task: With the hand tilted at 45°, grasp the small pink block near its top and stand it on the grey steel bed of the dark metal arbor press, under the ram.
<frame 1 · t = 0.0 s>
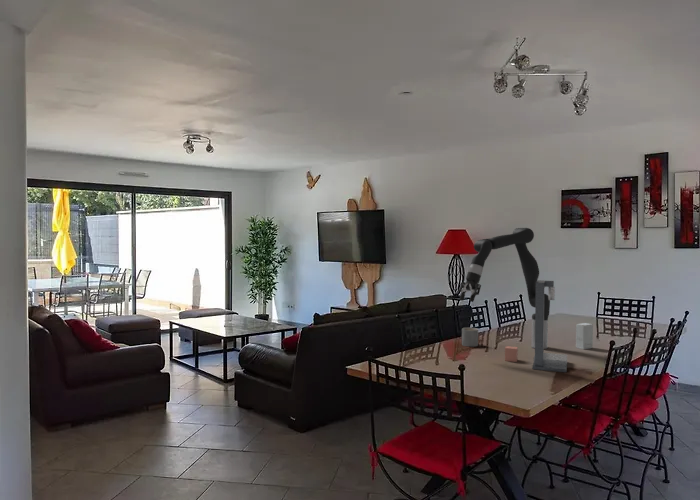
hand: (466, 300, 291), 31 cm above the table, tool tilted 20°, fingers open, 8 cm apart
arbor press: (550, 363, 276), on the table
pink block: (511, 360, 284), on the table
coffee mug: (470, 344, 326), on the table
skincare box: (584, 348, 317), on the table
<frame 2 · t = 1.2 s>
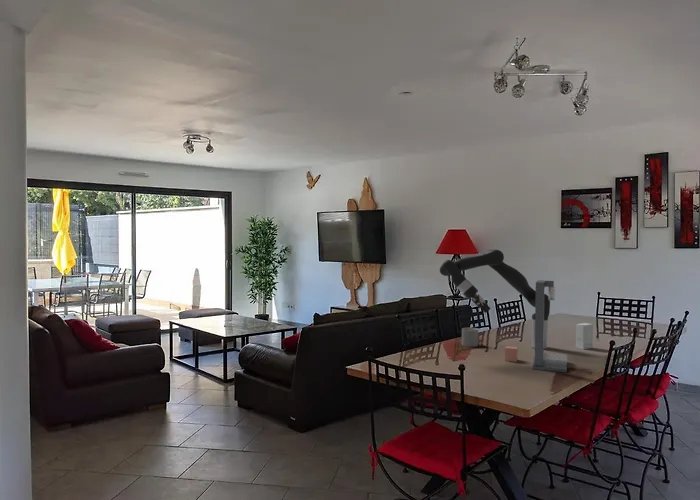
hand: (488, 310, 288), 26 cm above the table, tool tilted 45°, fingers open, 8 cm apart
nothing on the table moved.
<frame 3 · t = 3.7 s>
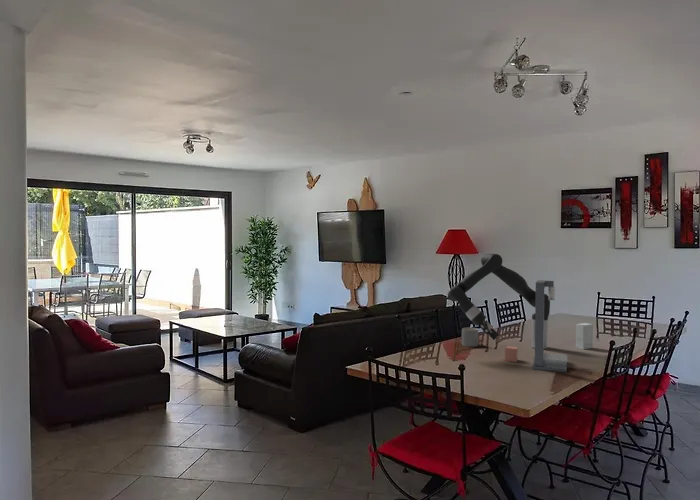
hand: (496, 337, 287), 12 cm above the table, tool tilted 45°, fingers open, 8 cm apart
nothing on the table moved.
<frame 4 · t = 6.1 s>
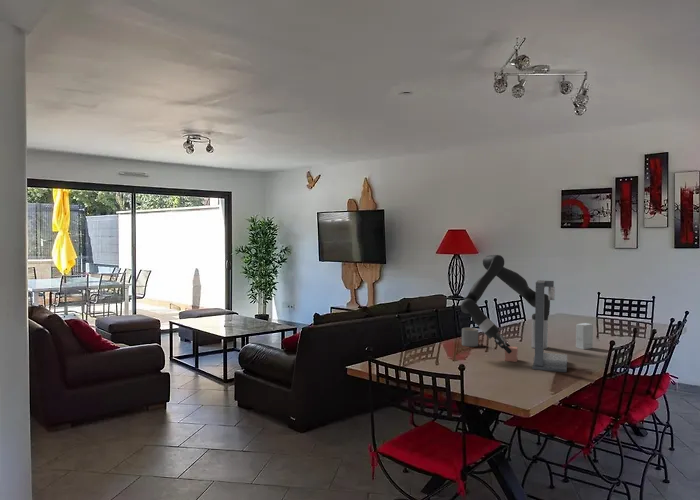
hand: (511, 351, 284), 5 cm above the table, tool tilted 45°, fingers closed on pink block, 5 cm apart
pink block: (511, 360, 284), on the table, touching gripper
everything else where it was.
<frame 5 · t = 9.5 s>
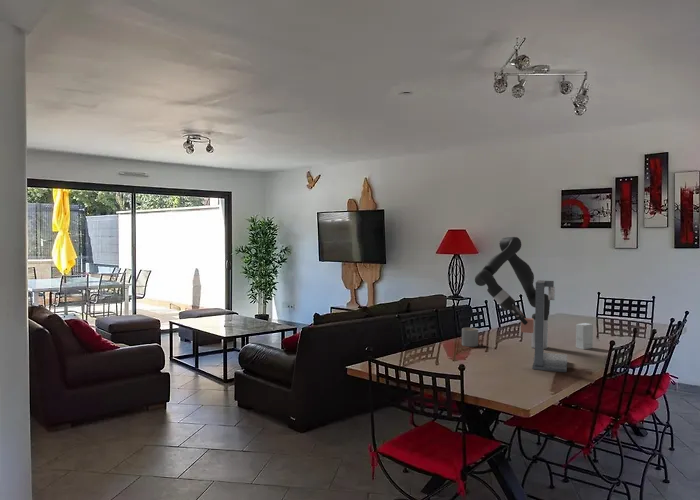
hand: (526, 322, 280), 21 cm above the table, tool tilted 45°, fingers closed on pink block, 5 cm apart
pink block: (527, 331, 280), point 16 cm above the table, touching gripper
everything else where it was.
when the fingers open (10 cm above the table, at t = 12.9 s): pink block drops 1 cm, resting on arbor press.
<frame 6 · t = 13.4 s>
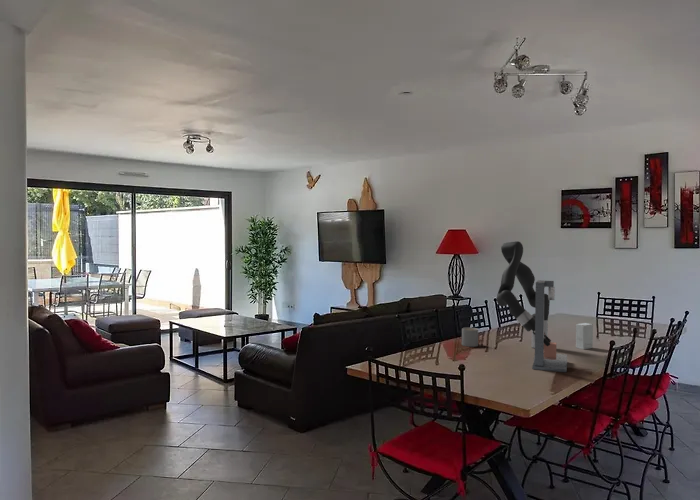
hand: (549, 343, 276), 11 cm above the table, tool tilted 45°, fingers open, 8 cm apart
pink block: (550, 356, 276), point 4 cm above the table, touching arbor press
everything else where it was.
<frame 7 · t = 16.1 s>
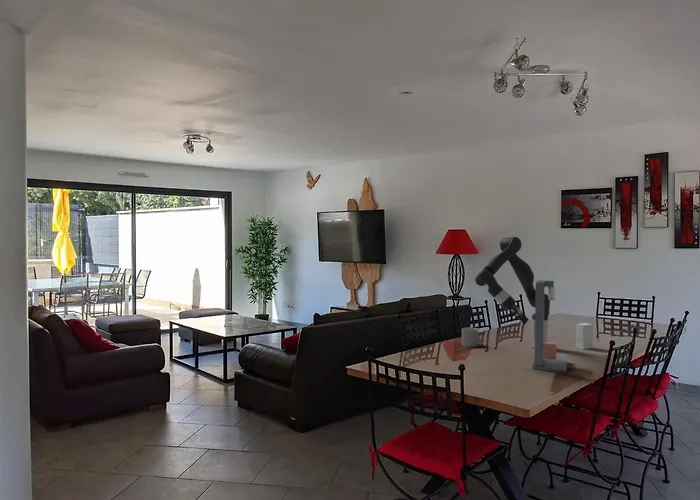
hand: (526, 322, 280), 21 cm above the table, tool tilted 45°, fingers open, 8 cm apart
nothing on the table moved.
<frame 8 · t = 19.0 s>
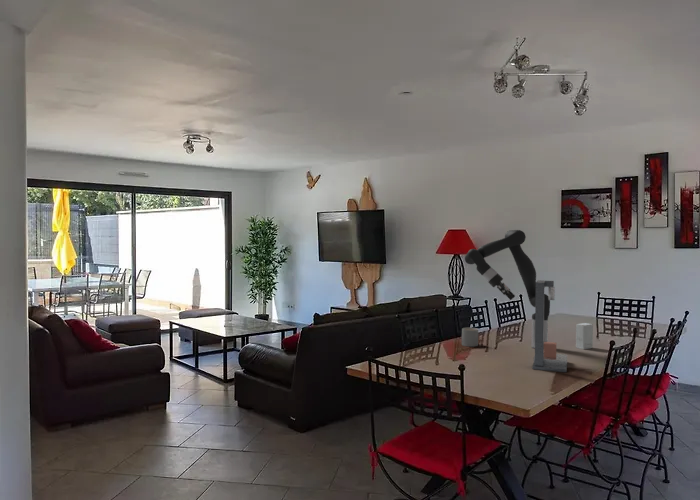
hand: (513, 298, 294), 33 cm above the table, tool tilted 45°, fingers open, 8 cm apart
nothing on the table moved.
at the end: pink block inside the target area on the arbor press (0.3 cm from its centre), point 4.0 cm above the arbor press's base; pink block tilted 0°; the gripper is holding nothing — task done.
